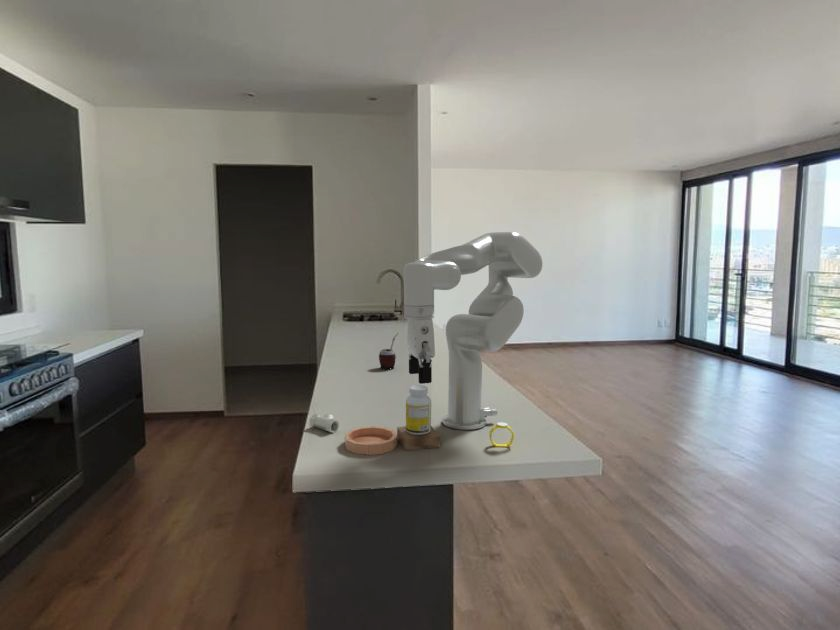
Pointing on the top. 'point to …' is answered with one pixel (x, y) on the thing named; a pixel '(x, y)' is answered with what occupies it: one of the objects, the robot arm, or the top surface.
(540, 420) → the top surface
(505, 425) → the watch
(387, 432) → the ring dish
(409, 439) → the walnut stand
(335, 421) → the pipe fitting
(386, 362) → the mate gourd
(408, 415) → the pill bottle
